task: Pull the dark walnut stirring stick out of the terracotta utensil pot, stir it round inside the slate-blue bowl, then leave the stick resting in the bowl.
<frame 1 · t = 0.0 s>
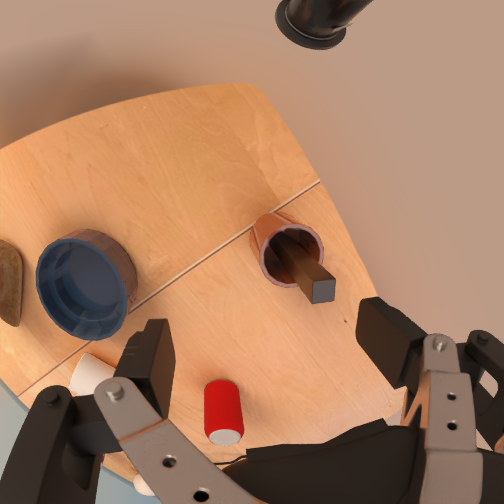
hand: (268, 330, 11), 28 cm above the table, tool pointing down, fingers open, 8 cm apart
holder: (275, 238, 39), on the table
stick: (276, 239, 39), point 1 cm above the table, touching holder
geometric ball: (148, 473, 53), on the table
bowl: (93, 277, 37), on the table
beverage can: (221, 387, 46), on the table
mug: (105, 376, 42), on the table
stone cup: (5, 275, 35), on the table
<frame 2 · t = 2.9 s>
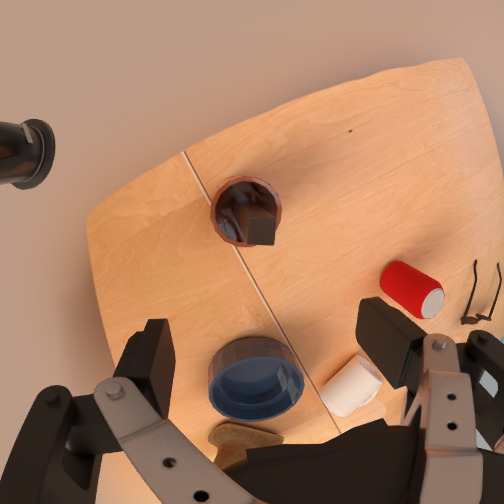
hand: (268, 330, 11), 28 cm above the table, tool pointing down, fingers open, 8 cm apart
holder: (239, 203, 37), on the table
stick: (239, 203, 37), point 1 cm above the table, touching holder
eyeglasses: (478, 289, 50), on the table
bowl: (252, 370, 45), on the table
beverage can: (390, 275, 44), on the table
mug: (348, 376, 49), on the table
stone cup: (240, 436, 51), on the table
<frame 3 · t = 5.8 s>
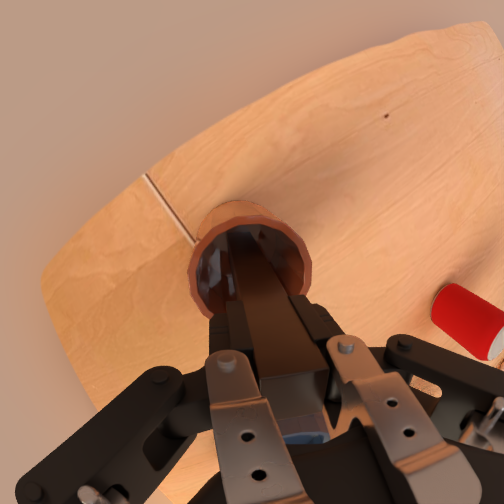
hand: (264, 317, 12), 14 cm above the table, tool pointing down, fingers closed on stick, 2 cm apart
holder: (238, 241, 25), on the table
stick: (239, 243, 24), point 1 cm above the table, touching gripper, holder
geometric ball: (502, 362, 42), on the table
bowl: (279, 432, 33), on the table
beverage can: (441, 300, 31), on the table
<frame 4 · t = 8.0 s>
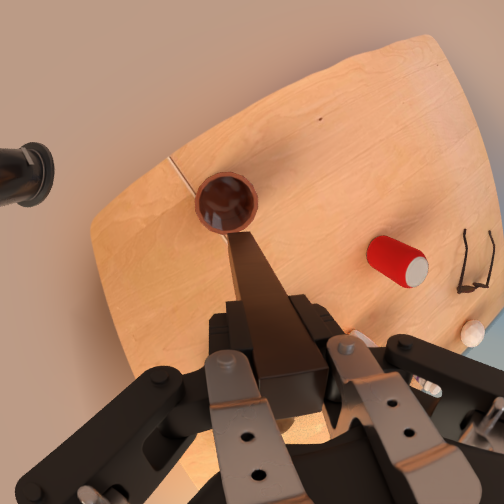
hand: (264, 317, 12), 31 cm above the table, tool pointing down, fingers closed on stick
holder: (223, 197, 41), on the table
stick: (239, 243, 24), point 18 cm above the table, touching gripper
geometric ball: (464, 327, 58), on the table
eyeglasses: (472, 258, 52), on the table
beverage can: (377, 250, 47), on the table
pill bottle: (418, 367, 59), on the table
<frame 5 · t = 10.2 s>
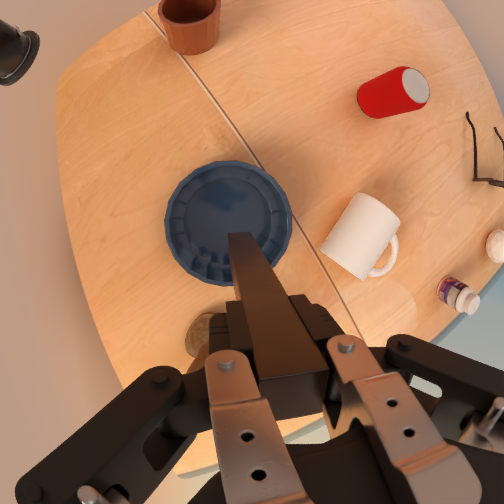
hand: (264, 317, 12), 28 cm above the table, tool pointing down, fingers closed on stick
holder: (193, 35, 30), on the table
stick: (239, 243, 24), point 15 cm above the table, touching gripper
geometric ball: (488, 242, 47), on the table
eyeglasses: (482, 150, 41), on the table
bowl: (226, 217, 38), on the table
beverage can: (370, 101, 36), on the table
mug: (356, 237, 42), on the table
pill bottle: (443, 286, 48), on the table
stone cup: (229, 345, 44), on the table
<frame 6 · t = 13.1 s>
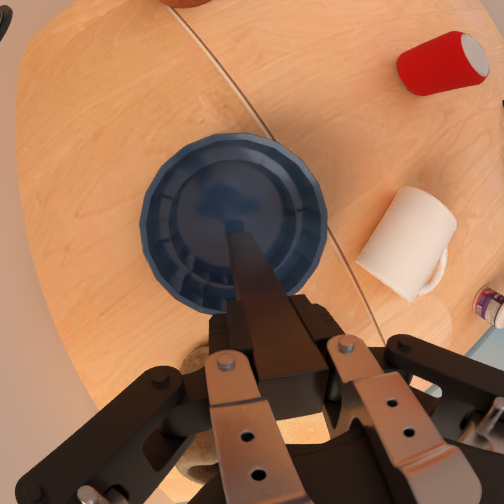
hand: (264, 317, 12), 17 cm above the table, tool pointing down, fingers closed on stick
stick: (239, 243, 24), point 4 cm above the table, touching gripper
bowl: (231, 218, 27), on the table
beverage can: (409, 75, 25), on the table
mug: (396, 243, 31), on the table
pill bottle: (479, 299, 37), on the table
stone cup: (234, 381, 33), on the table
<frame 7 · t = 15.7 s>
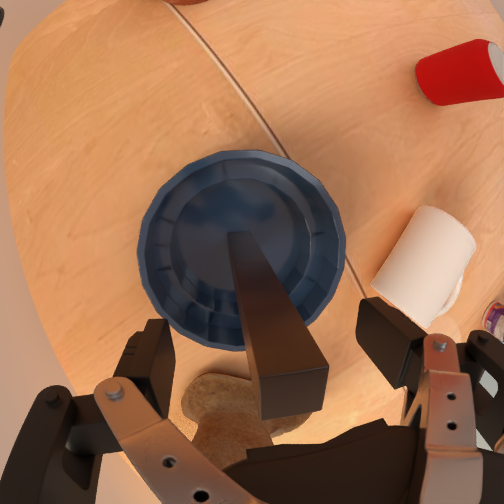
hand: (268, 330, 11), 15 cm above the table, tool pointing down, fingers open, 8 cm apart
stick: (239, 243, 24), point 1 cm above the table, touching bowl
bowl: (238, 241, 25), on the table
beverage can: (428, 83, 23), on the table
mug: (411, 263, 29), on the table
pill bottle: (488, 313, 35), on the table
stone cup: (240, 404, 31), on the table
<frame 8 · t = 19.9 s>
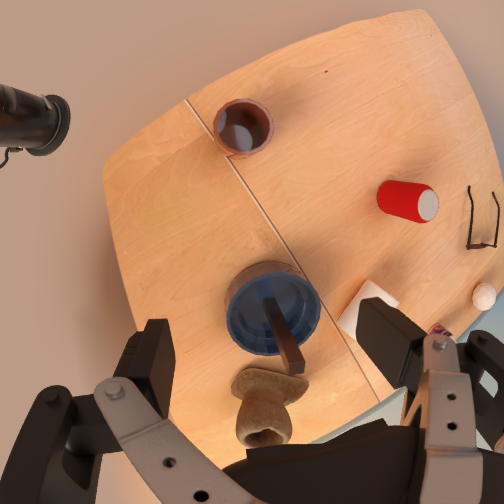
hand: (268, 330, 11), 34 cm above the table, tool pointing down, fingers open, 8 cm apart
holder: (237, 135, 40), on the table
stick: (269, 303, 48), point 1 cm above the table, touching bowl
geometric ball: (475, 291, 57), on the table
eyeglasses: (478, 217, 51), on the table
bowl: (268, 301, 48), on the table
beverage can: (386, 196, 46), on the table
mug: (364, 306, 52), on the table
pill bottle: (432, 332, 58), on the table
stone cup: (264, 386, 54), on the table
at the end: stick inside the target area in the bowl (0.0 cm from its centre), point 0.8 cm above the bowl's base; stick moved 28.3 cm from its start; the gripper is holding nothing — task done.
